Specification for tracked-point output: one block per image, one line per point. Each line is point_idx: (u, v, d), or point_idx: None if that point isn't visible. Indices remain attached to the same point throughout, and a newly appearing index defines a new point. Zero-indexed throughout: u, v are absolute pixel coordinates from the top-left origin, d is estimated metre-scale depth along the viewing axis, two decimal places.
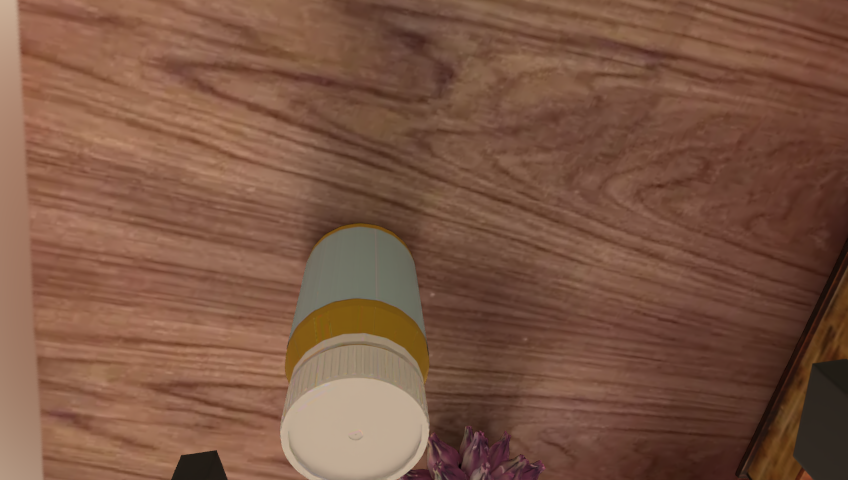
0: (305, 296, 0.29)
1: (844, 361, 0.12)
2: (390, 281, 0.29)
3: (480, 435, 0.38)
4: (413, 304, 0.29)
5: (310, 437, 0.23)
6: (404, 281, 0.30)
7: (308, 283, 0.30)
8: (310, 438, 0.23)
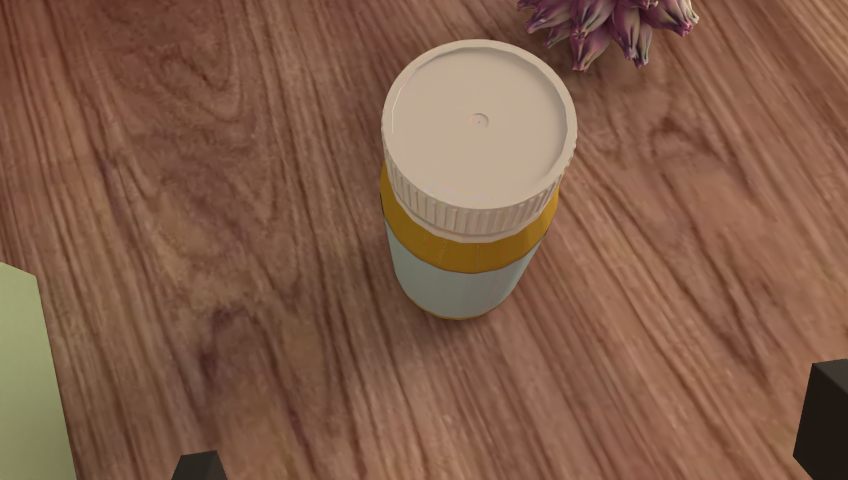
0: (461, 289, 0.24)
1: (845, 361, 0.12)
2: None
3: (528, 26, 0.32)
4: None
5: (517, 164, 0.17)
6: None
7: (459, 297, 0.25)
8: (519, 162, 0.17)
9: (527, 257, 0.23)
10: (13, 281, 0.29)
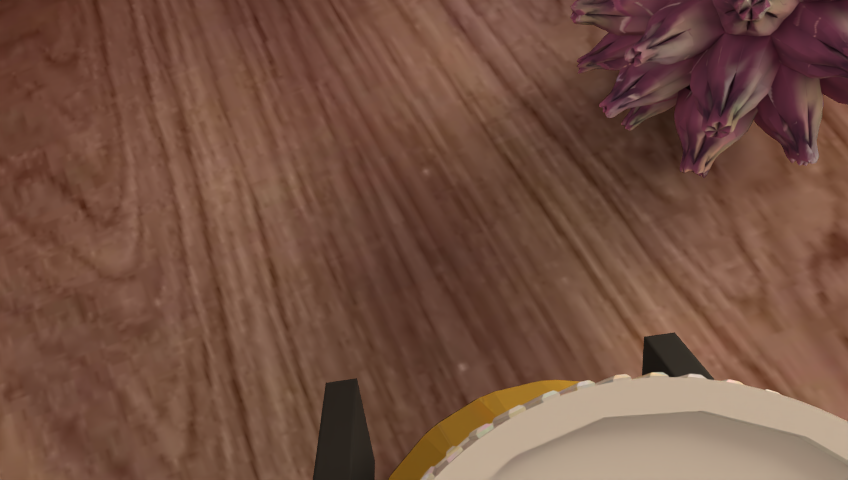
0: None
1: (673, 334, 0.14)
2: None
3: (607, 105, 0.19)
4: None
5: None
6: None
7: None
8: None
9: None
10: None
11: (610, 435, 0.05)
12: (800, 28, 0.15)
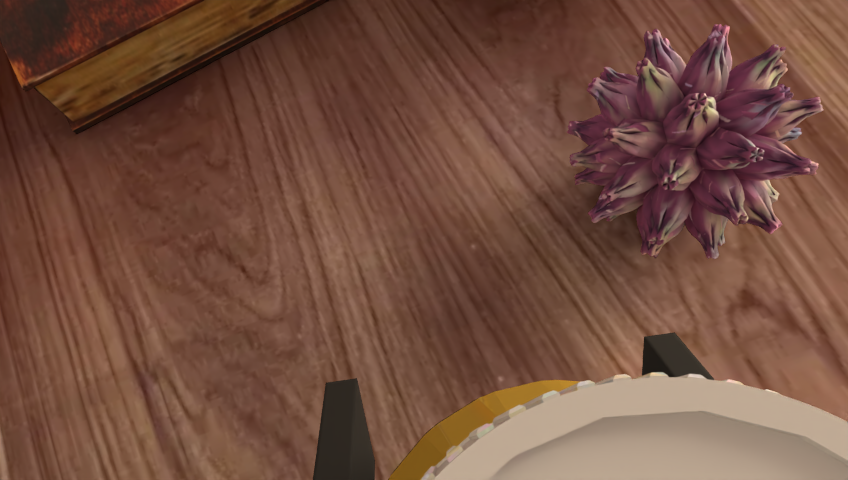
0: None
1: (673, 334, 0.14)
2: None
3: (593, 214, 0.30)
4: None
5: None
6: None
7: None
8: None
9: None
10: None
11: (610, 435, 0.05)
12: (702, 185, 0.26)
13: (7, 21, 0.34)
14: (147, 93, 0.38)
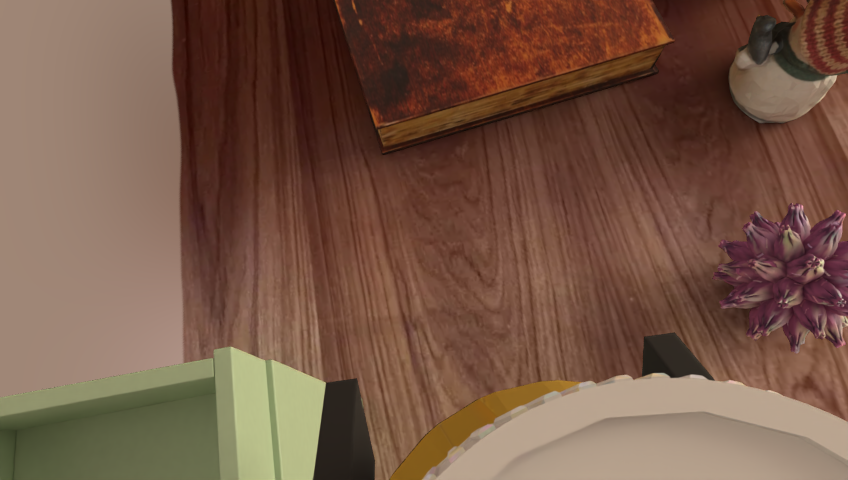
0: None
1: (673, 335, 0.14)
2: None
3: (722, 303, 0.46)
4: None
5: None
6: None
7: None
8: None
9: None
10: None
11: (612, 435, 0.05)
12: (801, 308, 0.42)
13: (369, 79, 0.54)
14: (432, 139, 0.56)
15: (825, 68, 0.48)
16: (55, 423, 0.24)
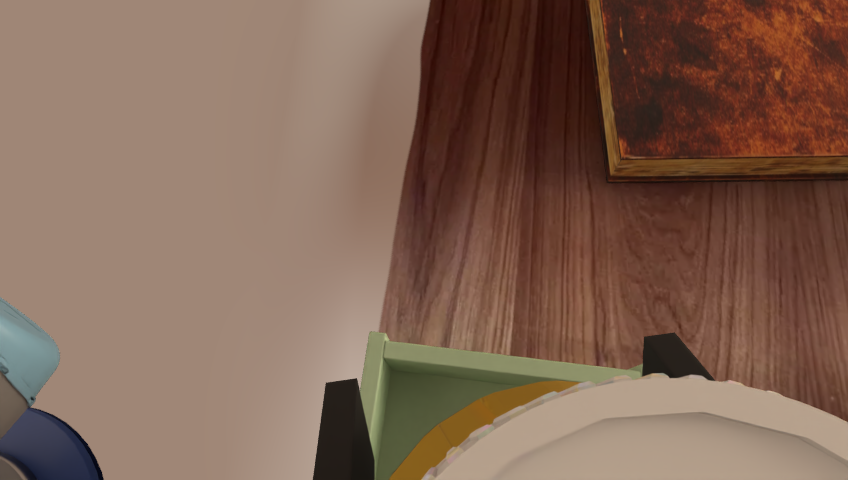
0: None
1: (673, 334, 0.14)
2: None
3: None
4: None
5: None
6: None
7: None
8: None
9: None
10: None
11: (611, 436, 0.05)
12: None
13: (623, 109, 0.54)
14: (660, 181, 0.57)
15: None
16: (427, 375, 0.26)
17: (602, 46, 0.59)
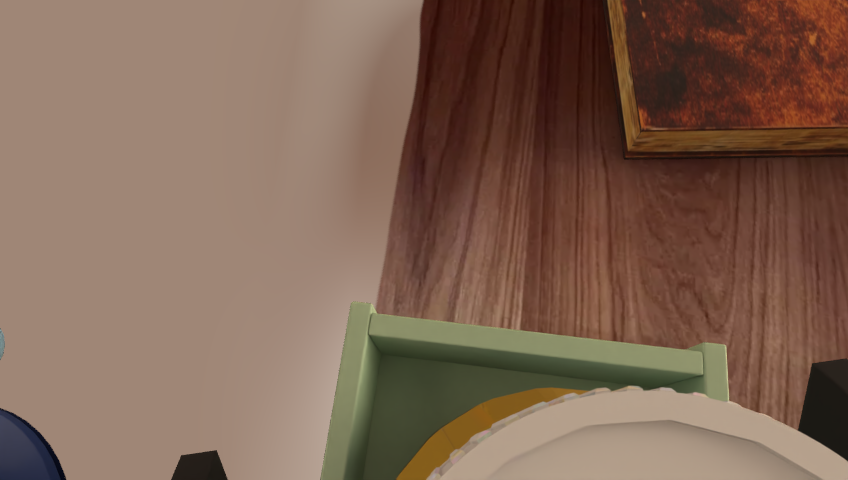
0: None
1: (845, 361, 0.12)
2: None
3: None
4: None
5: None
6: None
7: None
8: None
9: None
10: None
11: (592, 440, 0.06)
12: None
13: (643, 77, 0.49)
14: (682, 157, 0.52)
15: None
16: (425, 360, 0.21)
17: (618, 11, 0.54)
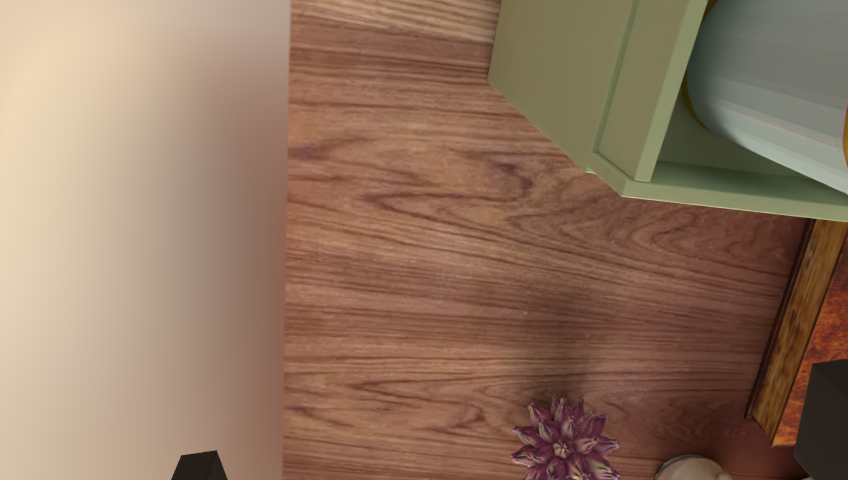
0: (788, 81, 0.17)
1: (845, 361, 0.12)
2: None
3: (564, 399, 0.60)
4: None
5: None
6: None
7: (761, 73, 0.18)
8: None
9: (830, 175, 0.17)
10: None
11: None
12: (549, 451, 0.58)
13: None
14: (805, 233, 0.58)
15: None
16: None
17: None
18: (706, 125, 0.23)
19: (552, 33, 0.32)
